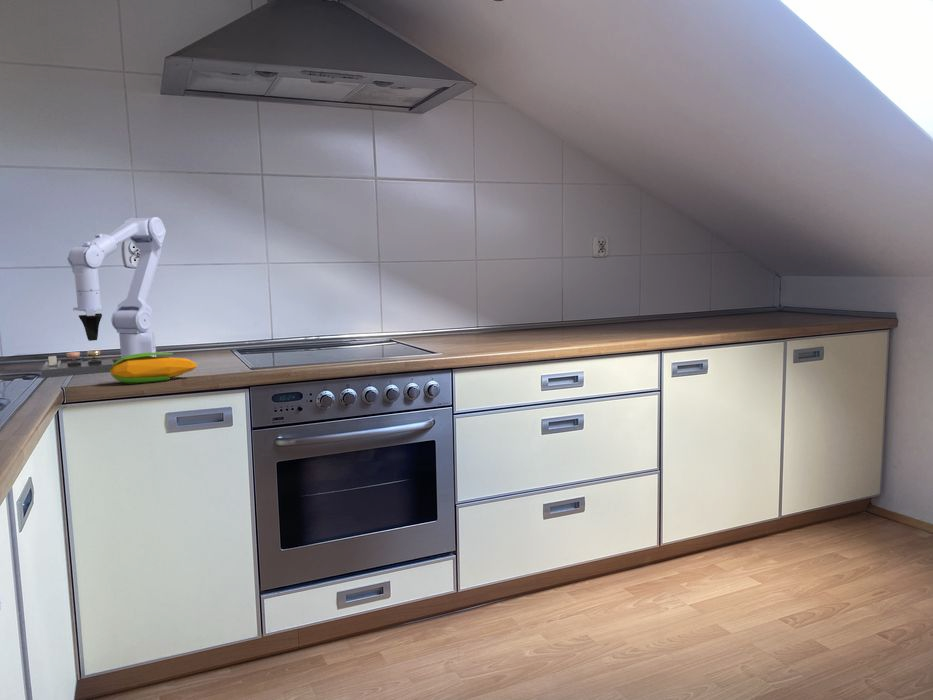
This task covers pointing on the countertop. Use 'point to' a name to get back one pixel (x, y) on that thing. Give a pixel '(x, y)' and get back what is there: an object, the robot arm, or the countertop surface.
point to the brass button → (93, 353)
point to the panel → (76, 368)
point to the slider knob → (52, 360)
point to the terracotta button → (73, 355)
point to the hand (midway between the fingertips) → (92, 340)
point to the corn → (149, 368)
